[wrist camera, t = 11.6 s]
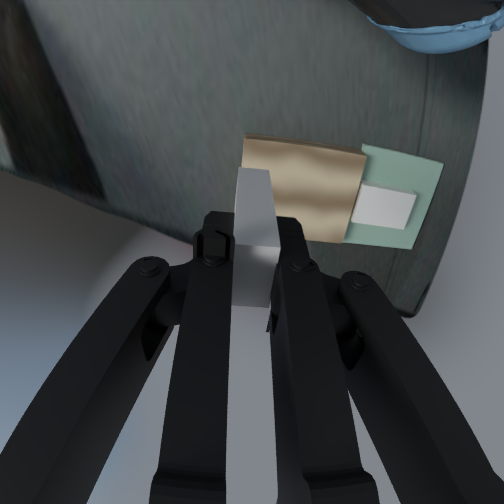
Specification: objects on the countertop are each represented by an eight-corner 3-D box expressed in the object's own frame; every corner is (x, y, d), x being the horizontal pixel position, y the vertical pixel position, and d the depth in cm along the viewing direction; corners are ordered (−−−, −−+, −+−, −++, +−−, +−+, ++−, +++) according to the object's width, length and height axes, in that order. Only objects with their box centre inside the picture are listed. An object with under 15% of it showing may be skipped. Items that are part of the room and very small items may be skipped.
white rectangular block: (348, 215, 46) (351, 222, 45) (359, 179, 43) (363, 184, 41) (398, 222, 47) (403, 229, 45) (411, 189, 44) (416, 195, 42)
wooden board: (245, 133, 40) (244, 138, 38) (361, 150, 41) (366, 156, 39) (235, 224, 48) (234, 233, 46) (338, 234, 49) (341, 243, 47)
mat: (362, 143, 40) (364, 144, 40) (441, 162, 41) (443, 164, 41) (336, 239, 50) (337, 241, 49) (410, 247, 51) (411, 249, 50)
